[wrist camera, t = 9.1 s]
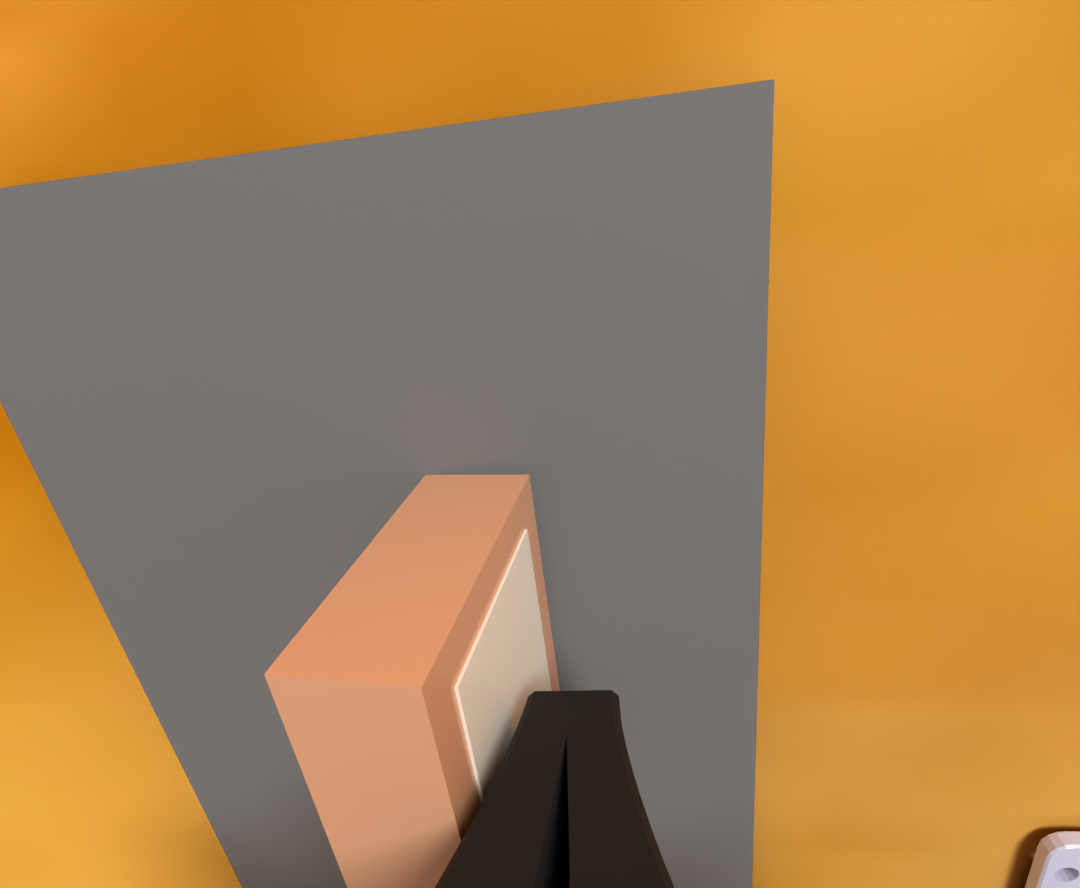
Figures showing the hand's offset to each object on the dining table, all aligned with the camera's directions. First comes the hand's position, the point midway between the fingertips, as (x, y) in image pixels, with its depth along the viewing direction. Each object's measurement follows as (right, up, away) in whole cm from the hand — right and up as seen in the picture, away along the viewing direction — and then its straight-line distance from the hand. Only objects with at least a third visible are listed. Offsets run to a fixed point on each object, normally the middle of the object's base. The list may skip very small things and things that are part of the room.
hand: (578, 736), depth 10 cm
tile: (-1, +1, +3) cm, 3 cm away
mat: (-3, 0, +4) cm, 5 cm away
